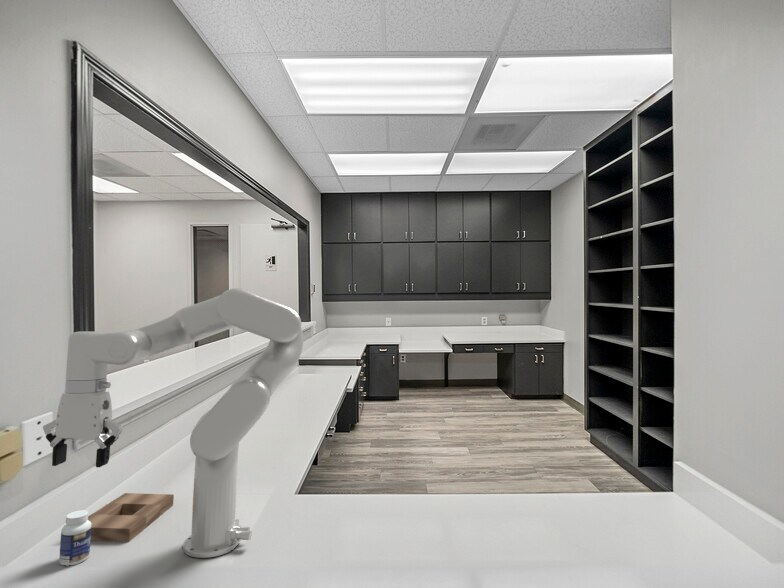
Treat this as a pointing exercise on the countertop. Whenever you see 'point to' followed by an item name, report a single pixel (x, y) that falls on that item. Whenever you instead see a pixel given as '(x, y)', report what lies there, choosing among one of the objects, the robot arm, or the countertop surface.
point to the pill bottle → (75, 538)
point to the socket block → (128, 516)
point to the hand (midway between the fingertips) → (80, 464)
